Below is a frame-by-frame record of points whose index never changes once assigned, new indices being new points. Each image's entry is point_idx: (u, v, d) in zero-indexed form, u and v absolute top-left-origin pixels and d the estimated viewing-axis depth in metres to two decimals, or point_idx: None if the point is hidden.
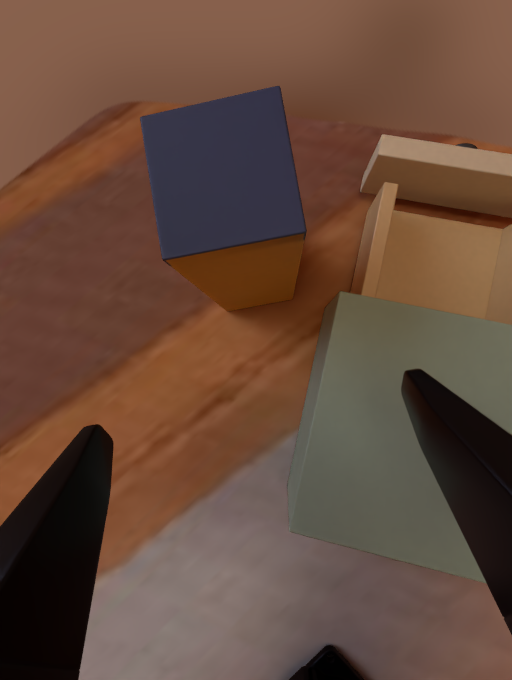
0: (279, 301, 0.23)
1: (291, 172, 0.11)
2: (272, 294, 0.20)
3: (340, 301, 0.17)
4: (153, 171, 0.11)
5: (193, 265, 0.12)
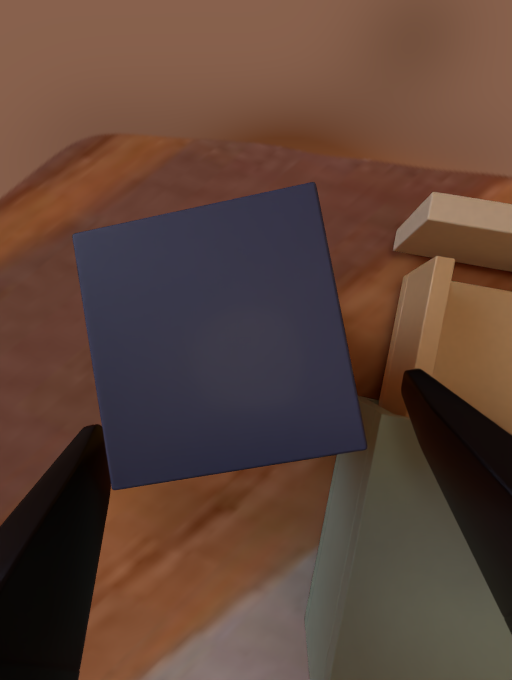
0: None
1: (338, 340, 0.06)
2: None
3: (382, 429, 0.13)
4: (95, 332, 0.06)
5: None
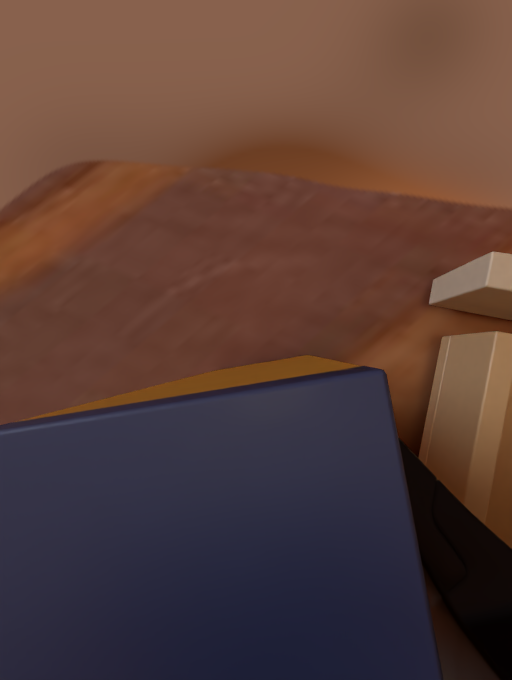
0: None
1: None
2: None
3: None
4: None
5: None
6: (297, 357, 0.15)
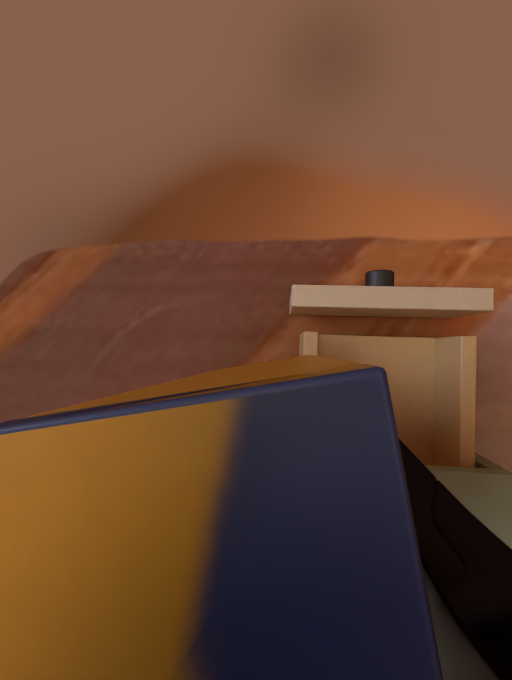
0: None
1: None
2: None
3: None
4: None
5: None
6: None
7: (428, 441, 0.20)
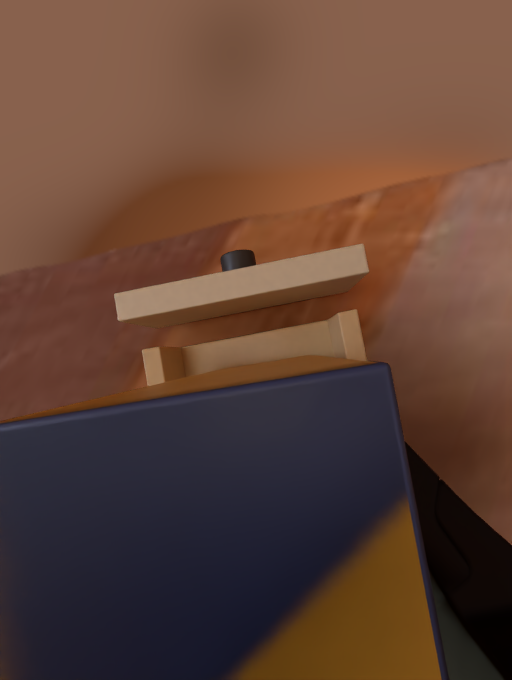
0: None
1: (432, 674, 0.03)
2: None
3: None
4: None
5: None
6: None
7: None
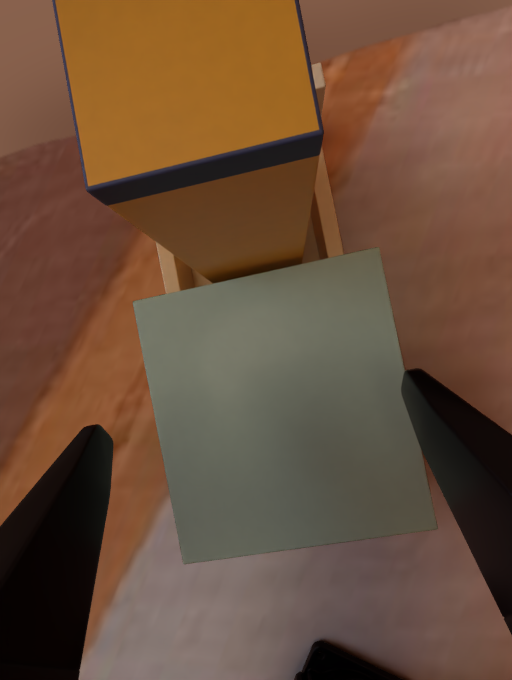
0: None
1: (296, 29, 0.06)
2: (274, 264, 0.16)
3: (137, 312, 0.16)
4: (67, 42, 0.07)
5: (145, 206, 0.08)
6: None
7: None
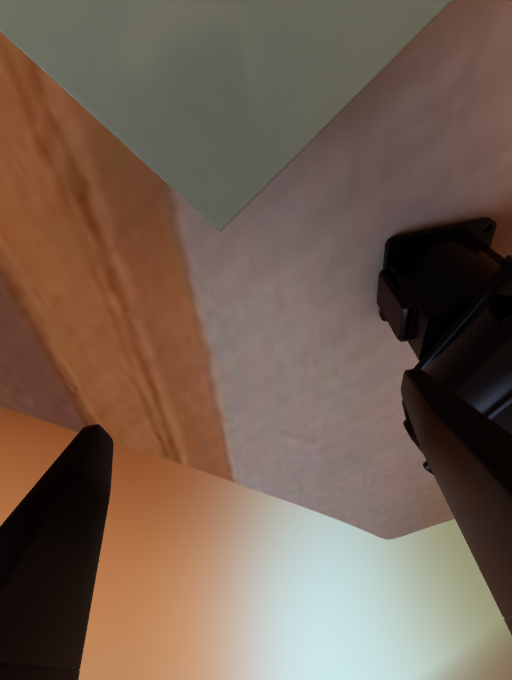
0: None
1: None
2: None
3: None
4: None
5: None
6: None
7: None
